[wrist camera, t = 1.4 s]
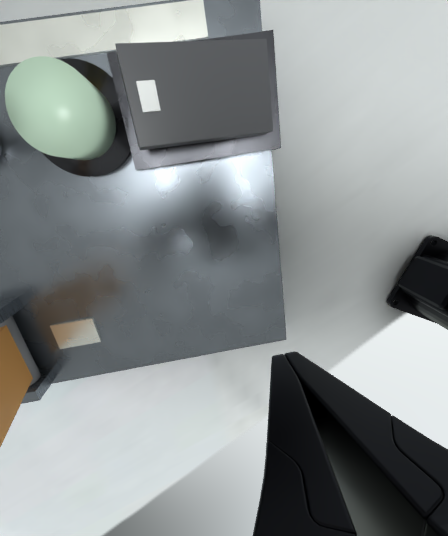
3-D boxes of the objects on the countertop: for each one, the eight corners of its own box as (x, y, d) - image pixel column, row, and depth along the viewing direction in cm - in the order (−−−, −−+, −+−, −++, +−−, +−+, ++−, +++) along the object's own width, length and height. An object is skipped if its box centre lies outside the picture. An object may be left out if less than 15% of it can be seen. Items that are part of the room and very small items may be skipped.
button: (103, 72, 13) (83, 50, 11) (124, 154, 14) (110, 150, 12) (26, 83, 13) (-12, 63, 11) (54, 165, 14) (26, 163, 12)
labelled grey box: (256, 50, 14) (267, 37, 12) (263, 134, 15) (274, 130, 14) (117, 56, 12) (114, 42, 11) (139, 150, 13) (139, 147, 12)
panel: (258, 5, 15) (276, -46, 12) (284, 328, 23) (300, 356, 19) (-120, 55, 14) (-222, 15, 11) (38, 374, 22) (7, 412, 18)
